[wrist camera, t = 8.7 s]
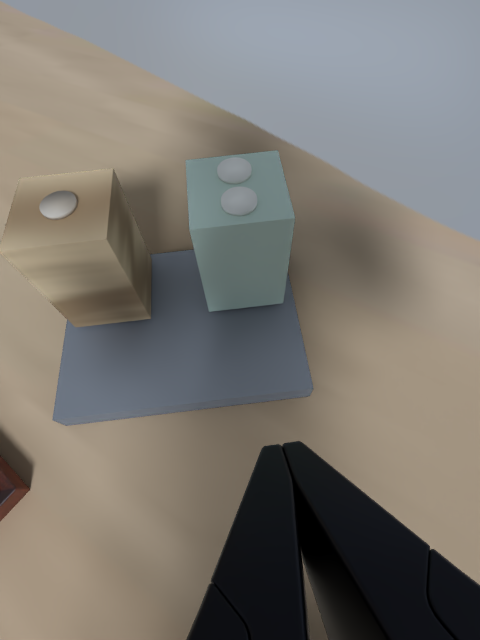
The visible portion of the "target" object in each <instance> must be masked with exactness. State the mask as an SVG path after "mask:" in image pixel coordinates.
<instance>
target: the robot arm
mask: <svg viewBox="0 0 480 640" xmlns="http://www.w3.org/2000/svg"><path fill="white" fill-rule="evenodd" d="M301 554H302V555H301ZM302 558H303V562H304V565H305V568H306V572H307V575H308V578H309V581H310V584H311V587H312V590H313V593H314V596H315V599H316V602H317V605H318V608H319V611H320V614H321V617H322V620H323V623H324V626H325V629H326V632H327V635H328V638H329V640H480V585H479V584H477V583H476V582H475V581H474V580H472V579H471V578H470V577H468V576H467V575H466V574H465V573H463V572H462V571H461V570H459V569H458V568H457V567H456V566H454V565H453V564H452V563H451V562H449V561H448V560H447V559H446V558H444V557H443V556H442V555H441V554H439V553H438V552H437V551H436V550H434V549H431V550H430V546H429V545H428V544H427V543H426V542H424V541H423V540H422V539H421V538H419V537H418V536H417V535H416V534H415V533H413V532H412V531H411V530H410V529H408V528H407V527H406V526H405V525H403V524H402V523H401V522H400V521H398V520H397V519H396V518H395V517H394V516H392V515H391V514H390V513H389V512H387V511H386V510H385V509H384V508H382V507H381V506H380V505H379V504H377V503H376V502H375V501H374V500H373V499H371V498H370V497H369V496H368V495H366V494H365V493H364V492H363V491H361V490H360V489H359V488H358V487H356V486H355V485H354V484H353V483H352V482H350V481H349V480H348V479H347V478H345V477H344V476H343V475H342V474H340V473H339V472H338V471H337V470H336V469H334V468H333V467H332V466H331V465H329V464H328V463H327V462H326V461H324V460H323V459H322V458H321V457H319V456H318V455H317V454H316V453H315V452H313V451H312V450H311V449H310V448H308V447H307V446H306V445H305V444H303V443H302V442H300V441H296V442H290V443H284V444H283V445H282V446H281V445H279V444H276V445H269V446H264V447H263V448H262V450H261V452H260V455H259V457H258V460H257V462H256V465H255V468H254V470H253V473H252V475H251V478H250V480H249V483H248V486H247V488H246V491H245V493H244V496H243V499H242V501H241V504H240V506H239V509H238V511H237V514H236V517H235V519H234V522H233V524H232V527H231V529H230V532H229V535H228V537H227V540H226V542H225V545H224V548H223V550H222V553H221V555H220V558H219V560H218V563H217V566H216V568H215V571H214V573H213V576H212V578H211V583H210V584H209V586H208V588H207V591H206V593H205V596H204V598H203V601H202V604H201V606H200V609H199V611H198V613H197V616H196V618H195V621H194V623H193V625H192V628H191V630H190V632H189V635H188V637H187V639H186V640H310V634H309V624H308V614H307V604H306V594H305V584H304V574H303V564H302Z"/></svg>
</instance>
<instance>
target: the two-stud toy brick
mask: <svg viewBox="0 0 480 640" xmlns="http://www.w3.org/2000/svg"><path fill="white" fill-rule="evenodd" d="M186 176H187V194H188V212H189V230H190V234H191V238H192V243H193V247H194V251H195V255H196V259H197V264H198V268H199V272H200V276H201V280H202V285H203V289H204V293H205V297H206V301H207V305H208V310H209V312H212V311H221V310H229V309H238V308H247V307H255V306H264V305H272V304H281V303H283V301H284V294H285V287H286V280H287V272H288V265H289V258H290V251H291V244H292V237H293V230H294V223H295V215H294V212H293V208H292V204H291V200H290V196H289V192H288V188H287V184H286V180H285V176H284V173H283V169H282V165H281V161H280V157H279V153H278V150H276V151H266V152H257V153H248V154H238V155H229V156H220V157H211V158H201V159H192V160H186Z"/></svg>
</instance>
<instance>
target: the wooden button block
mask: <svg viewBox="0 0 480 640" xmlns="http://www.w3.org/2000/svg"><path fill="white" fill-rule="evenodd" d="M0 253H1V254H2V255H3V256H4V257H5V258H6V259H7V260H8V261H9V262H10V263H11V264H12V265H13V266H14V267H15V268H16V269H17V270H18V271H19V272H20V273H21V274H22V275H23V276H24V277H25V278H26V279H27V280H28V281H29V282H30V283H31V284H32V285H33V286H34V287H35V288H36V289H37V290H38V291H39V292H40V293H41V294H42V295H43V296H44V297H45V298H46V299H47V300H48V301H49V302H50V303H51V304H52V305H53V306H54V307H55V308H56V309H57V310H58V311H59V312H60V313H61V314H62V315H63V316H64V317H65V318H66V319H68V320H69V321H70V322H71V323H72V324H73V325H74V326H75V327H84V326H93V325H102V324H110V323H119V322H127V321H136V320H145V319H151V277H152V259H151V257H150V254H149V252H148V249H147V247H146V245H145V242H144V240H143V238H142V235H141V233H140V230H139V228H138V226H137V223H136V221H135V219H134V216H133V214H132V211H131V209H130V207H129V204H128V202H127V200H126V197H125V195H124V192H123V190H122V188H121V185H120V183H119V181H118V178H117V176H116V173H115V171H114V169H113V168H110V169H100V170H91V171H82V172H72V173H63V174H54V175H44V176H35V177H26V178H19V181H18V184H17V188H16V191H15V195H14V198H13V202H12V205H11V209H10V212H9V216H8V219H7V223H6V226H5V230H4V233H3V237H2V240H1V244H0Z"/></svg>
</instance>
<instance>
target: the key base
mask: <svg viewBox="0 0 480 640" xmlns="http://www.w3.org/2000/svg"><path fill="white" fill-rule="evenodd" d="M150 257H151V259H152V277H151V319H145V320H136V321H127V322H119V323H110V324H102V325H93V326H84V327H75V326H74V325H73V324H72V323H71V322H70V321H69V320H68V319H67V324H66V331H65V338H64V345H63V352H62V358H61V365H60V372H59V379H58V386H57V393H56V399H55V406H54V413H53V420H54V421H56V422H58V423H61V424H63V425H66V426H68V425H76V424H85V423H93V422H101V421H109V420H117V419H126V418H134V417H142V416H150V415H159V414H167V413H175V412H183V411H191V410H200V409H208V408H216V407H224V406H233V405H241V404H249V403H257V402H265V401H274V400H282V399H290V398H298V397H307V396H310V394H311V392H312V390H313V384H312V380H311V375H310V371H309V366H308V361H307V357H306V352H305V348H304V343H303V339H302V334H301V330H300V325H299V320H298V316H297V311H296V307H295V302H294V298H293V293H292V289H291V284H290V280H289V275H288V272H287V280H286V287H285V294H284V301H283V303H281V304H272V305H264V306H255V307H247V308H238V309H229V310H221V311H212V312H209V310H208V305H207V301H206V297H205V293H204V289H203V285H202V280H201V276H200V272H199V268H198V264H197V259H196V255H195V251H194V250H185V251H176V252H167V253H158V254H150Z"/></svg>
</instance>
